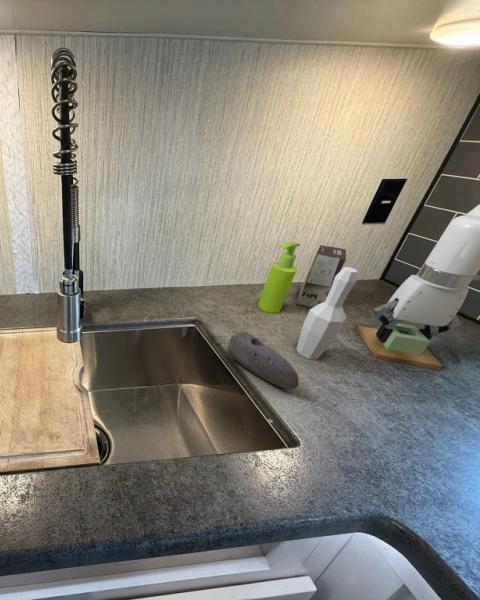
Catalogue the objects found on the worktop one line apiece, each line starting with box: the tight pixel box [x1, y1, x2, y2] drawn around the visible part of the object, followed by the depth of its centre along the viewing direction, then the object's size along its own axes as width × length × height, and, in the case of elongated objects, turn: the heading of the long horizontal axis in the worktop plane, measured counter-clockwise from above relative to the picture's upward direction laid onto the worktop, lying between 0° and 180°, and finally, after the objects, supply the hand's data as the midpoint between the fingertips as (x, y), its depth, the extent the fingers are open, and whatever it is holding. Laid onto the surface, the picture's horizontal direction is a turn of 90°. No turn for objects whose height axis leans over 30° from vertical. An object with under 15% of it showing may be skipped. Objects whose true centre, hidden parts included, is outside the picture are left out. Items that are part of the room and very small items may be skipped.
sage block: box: [375, 323, 431, 355], centre depth 74 cm, size 6×6×4 cm
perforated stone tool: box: [226, 331, 300, 390], centre depth 66 cm, size 15×5×7 cm, turn 30°
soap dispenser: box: [257, 241, 301, 314], centre depth 86 cm, size 6×7×20 cm
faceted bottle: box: [295, 266, 359, 360], centre depth 68 cm, size 6×6×22 cm
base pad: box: [355, 325, 444, 371], centre depth 75 cm, size 12×12×4 cm
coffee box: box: [296, 244, 347, 309], centre depth 90 cm, size 9×6×16 cm
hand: (398, 342), depth 75 cm, fingers closed on sage block, 6 cm apart
